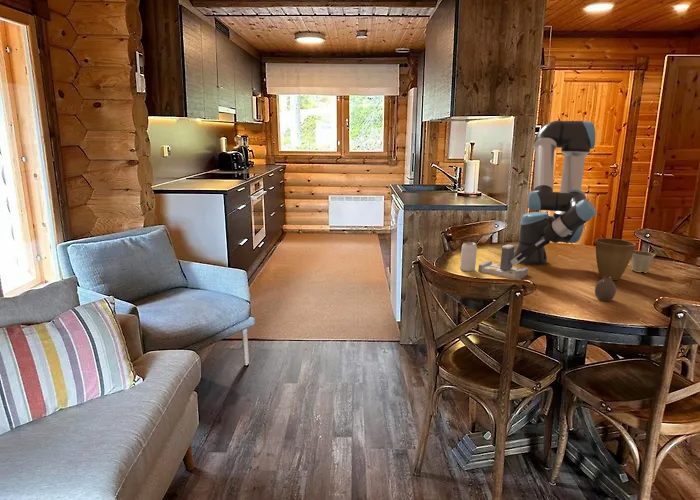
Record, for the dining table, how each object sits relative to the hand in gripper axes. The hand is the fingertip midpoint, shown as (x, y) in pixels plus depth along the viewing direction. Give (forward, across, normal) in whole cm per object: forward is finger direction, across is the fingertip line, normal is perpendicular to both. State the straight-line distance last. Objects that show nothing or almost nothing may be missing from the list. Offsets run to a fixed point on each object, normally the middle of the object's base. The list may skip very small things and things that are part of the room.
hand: (512, 263), depth 208 cm
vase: (-22, -6, -31) cm, 38 cm away
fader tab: (+5, +1, -1) cm, 5 cm away
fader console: (+7, +1, -1) cm, 7 cm away
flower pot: (-25, +46, -33) cm, 62 cm away
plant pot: (-19, +26, -28) cm, 42 cm away
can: (+17, -5, +9) cm, 19 cm away
